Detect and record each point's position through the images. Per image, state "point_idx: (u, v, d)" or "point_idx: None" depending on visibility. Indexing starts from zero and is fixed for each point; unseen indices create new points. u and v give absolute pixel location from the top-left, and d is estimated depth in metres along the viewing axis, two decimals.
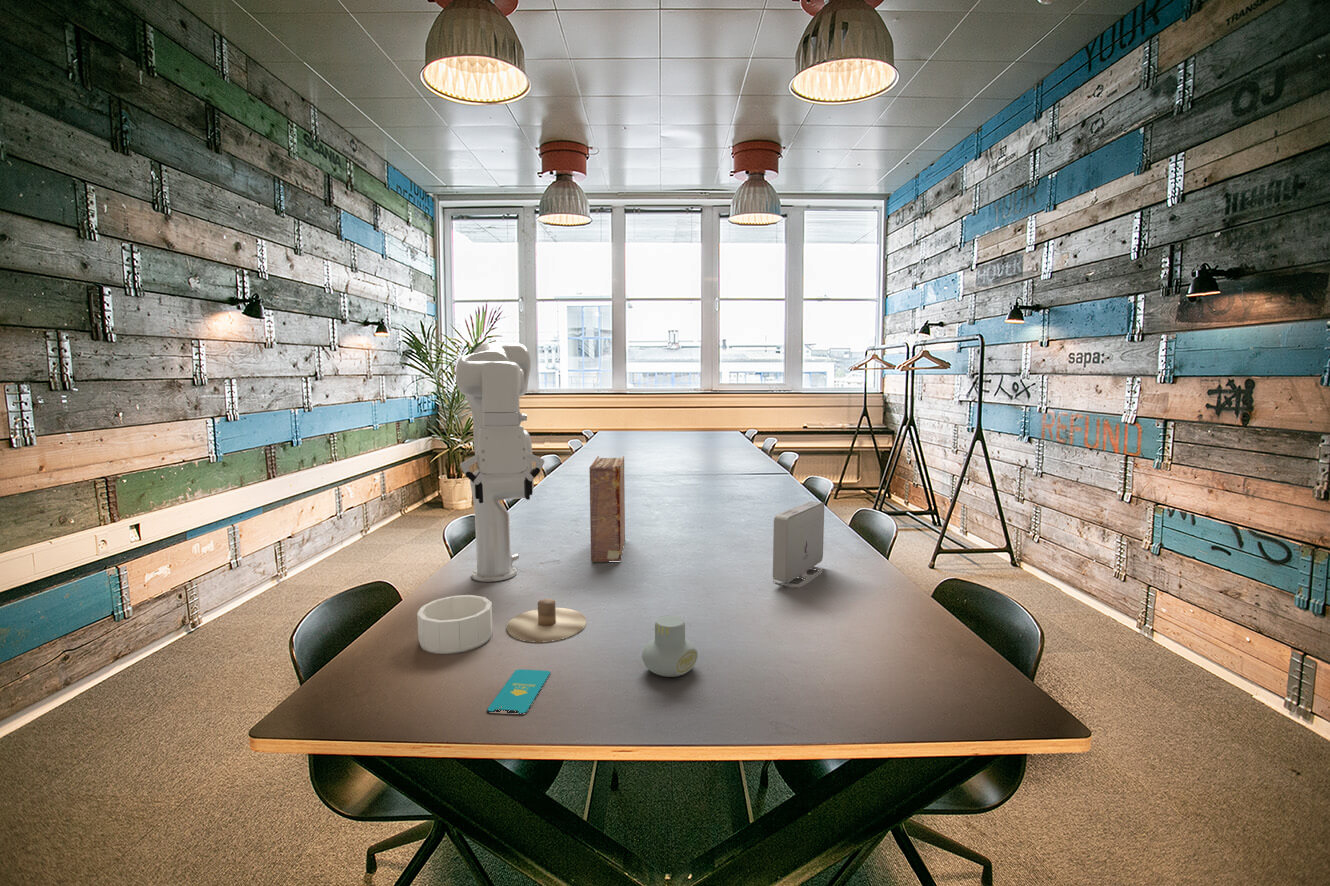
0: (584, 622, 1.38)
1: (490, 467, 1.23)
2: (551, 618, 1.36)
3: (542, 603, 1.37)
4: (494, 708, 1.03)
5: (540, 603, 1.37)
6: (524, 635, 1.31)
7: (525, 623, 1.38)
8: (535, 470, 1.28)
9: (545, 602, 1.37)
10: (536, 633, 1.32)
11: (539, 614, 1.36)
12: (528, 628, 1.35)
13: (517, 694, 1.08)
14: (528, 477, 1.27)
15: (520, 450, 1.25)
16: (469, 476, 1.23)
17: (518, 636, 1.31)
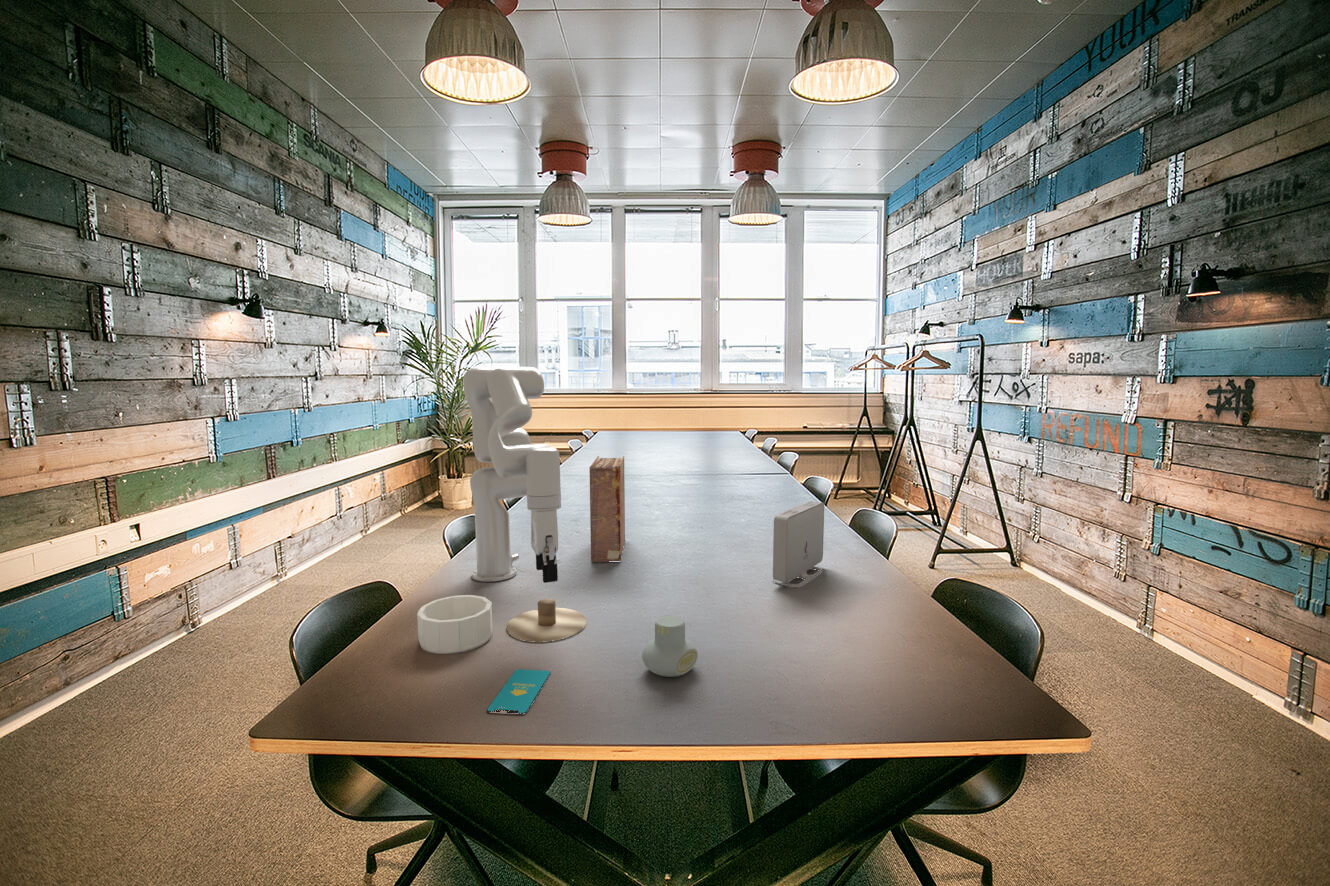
0: (584, 622, 1.38)
1: None
2: (551, 618, 1.36)
3: (542, 603, 1.37)
4: (494, 708, 1.03)
5: (540, 603, 1.37)
6: (524, 635, 1.31)
7: (525, 623, 1.38)
8: None
9: (545, 602, 1.37)
10: (536, 633, 1.32)
11: (539, 614, 1.36)
12: (528, 628, 1.35)
13: (517, 694, 1.08)
14: None
15: None
16: None
17: (518, 636, 1.31)
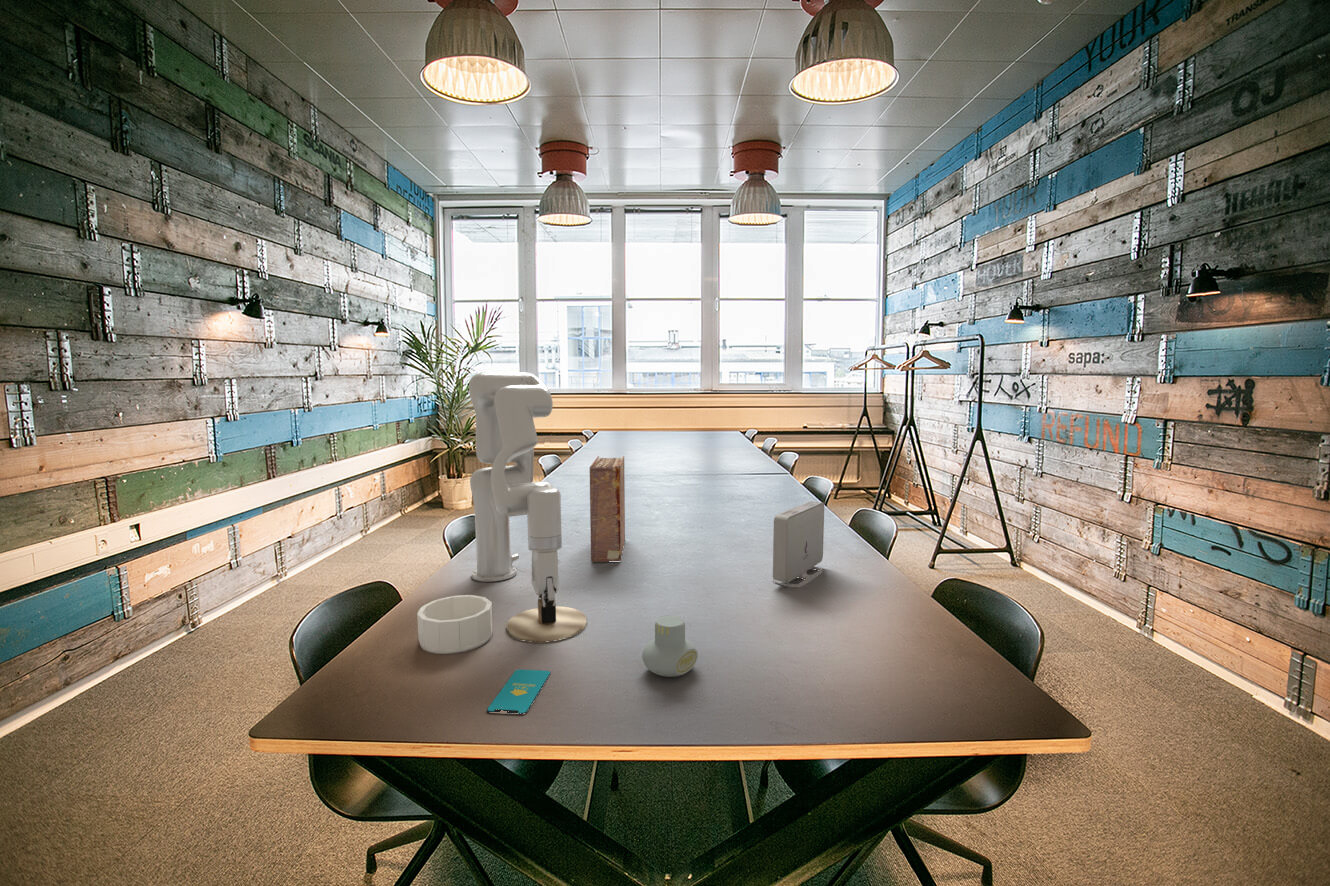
0: (584, 621, 1.38)
1: None
2: None
3: None
4: (494, 708, 1.03)
5: (540, 601, 1.37)
6: (524, 633, 1.31)
7: (525, 621, 1.38)
8: None
9: None
10: (536, 631, 1.32)
11: (539, 613, 1.36)
12: (528, 627, 1.35)
13: (517, 694, 1.08)
14: None
15: None
16: None
17: (518, 634, 1.31)
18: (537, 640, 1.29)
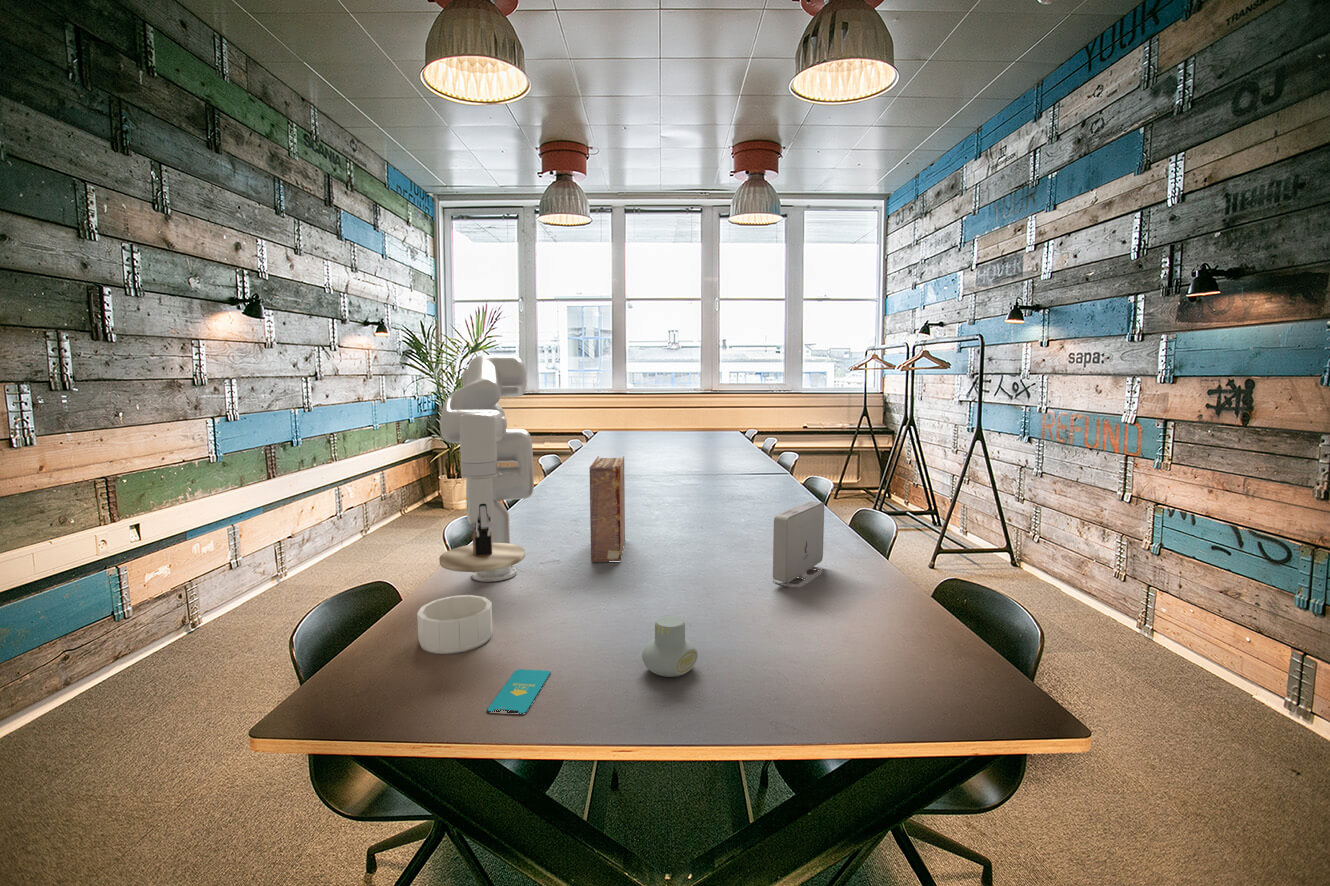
0: (522, 553, 1.32)
1: None
2: None
3: None
4: (494, 708, 1.03)
5: (475, 532, 1.30)
6: (456, 563, 1.25)
7: (459, 554, 1.31)
8: None
9: None
10: (469, 562, 1.25)
11: (474, 545, 1.29)
12: (462, 558, 1.28)
13: (517, 694, 1.08)
14: None
15: None
16: None
17: (449, 564, 1.24)
18: (469, 569, 1.22)
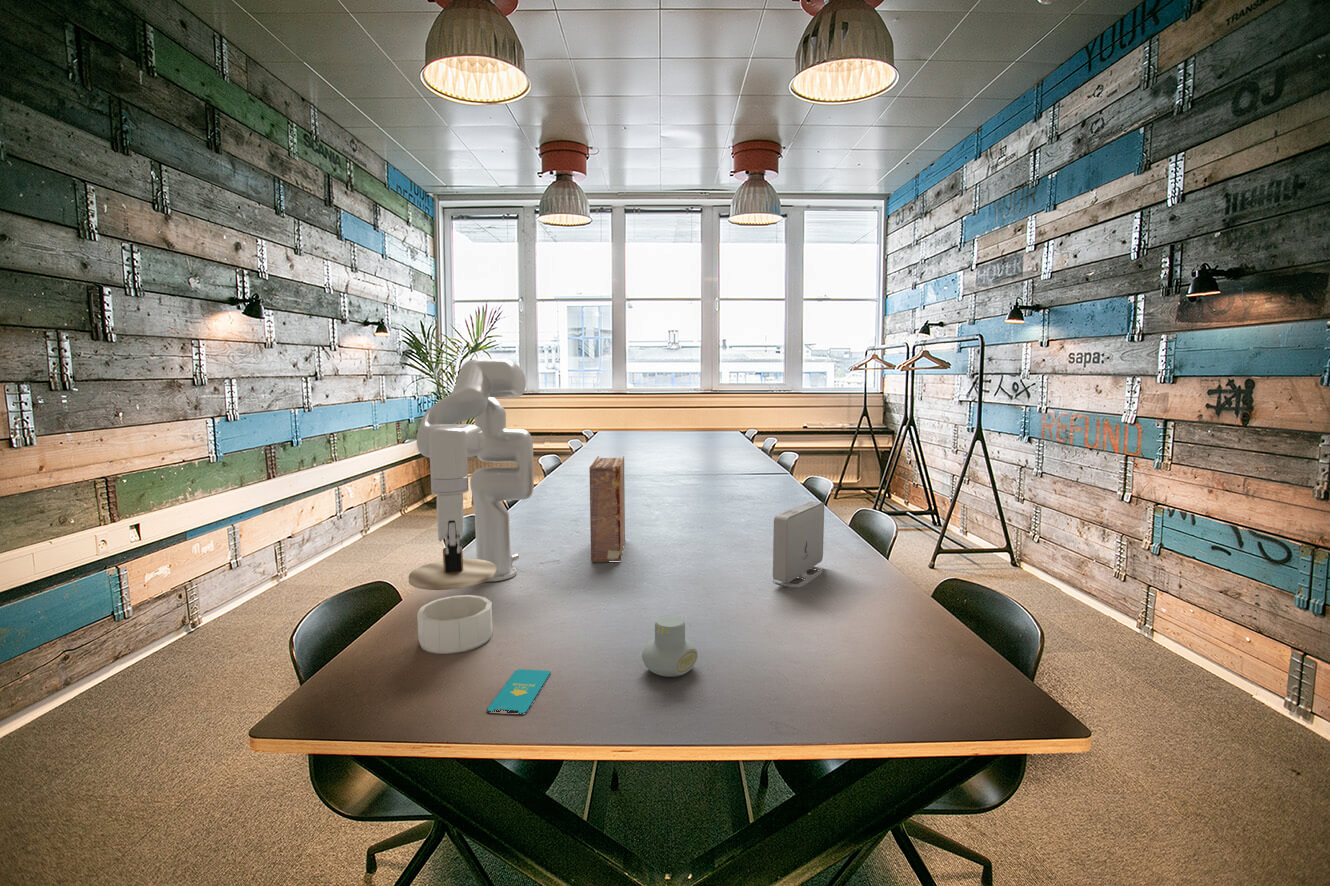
0: (493, 570, 1.29)
1: None
2: None
3: (448, 549, 1.28)
4: (494, 708, 1.03)
5: (445, 549, 1.28)
6: (424, 581, 1.23)
7: (430, 571, 1.29)
8: None
9: None
10: (437, 580, 1.24)
11: (444, 562, 1.28)
12: (431, 575, 1.26)
13: (517, 694, 1.08)
14: None
15: None
16: None
17: (417, 582, 1.22)
18: (436, 587, 1.20)
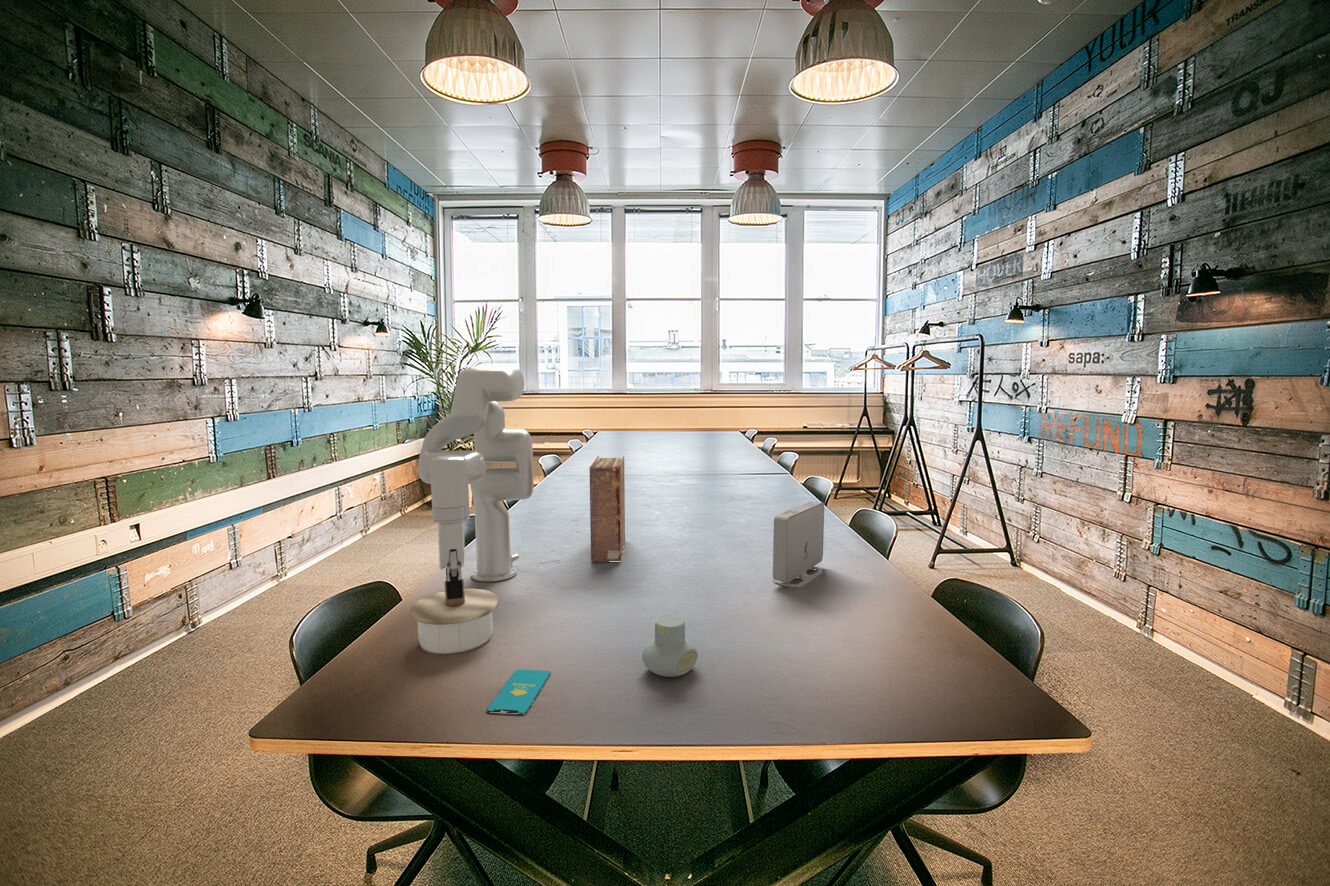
0: (494, 603, 1.30)
1: None
2: (458, 598, 1.29)
3: None
4: (494, 708, 1.03)
5: None
6: (426, 615, 1.24)
7: (432, 603, 1.30)
8: None
9: None
10: (439, 613, 1.25)
11: (446, 594, 1.29)
12: (433, 608, 1.27)
13: (517, 694, 1.08)
14: None
15: None
16: None
17: (419, 616, 1.23)
18: (438, 622, 1.22)
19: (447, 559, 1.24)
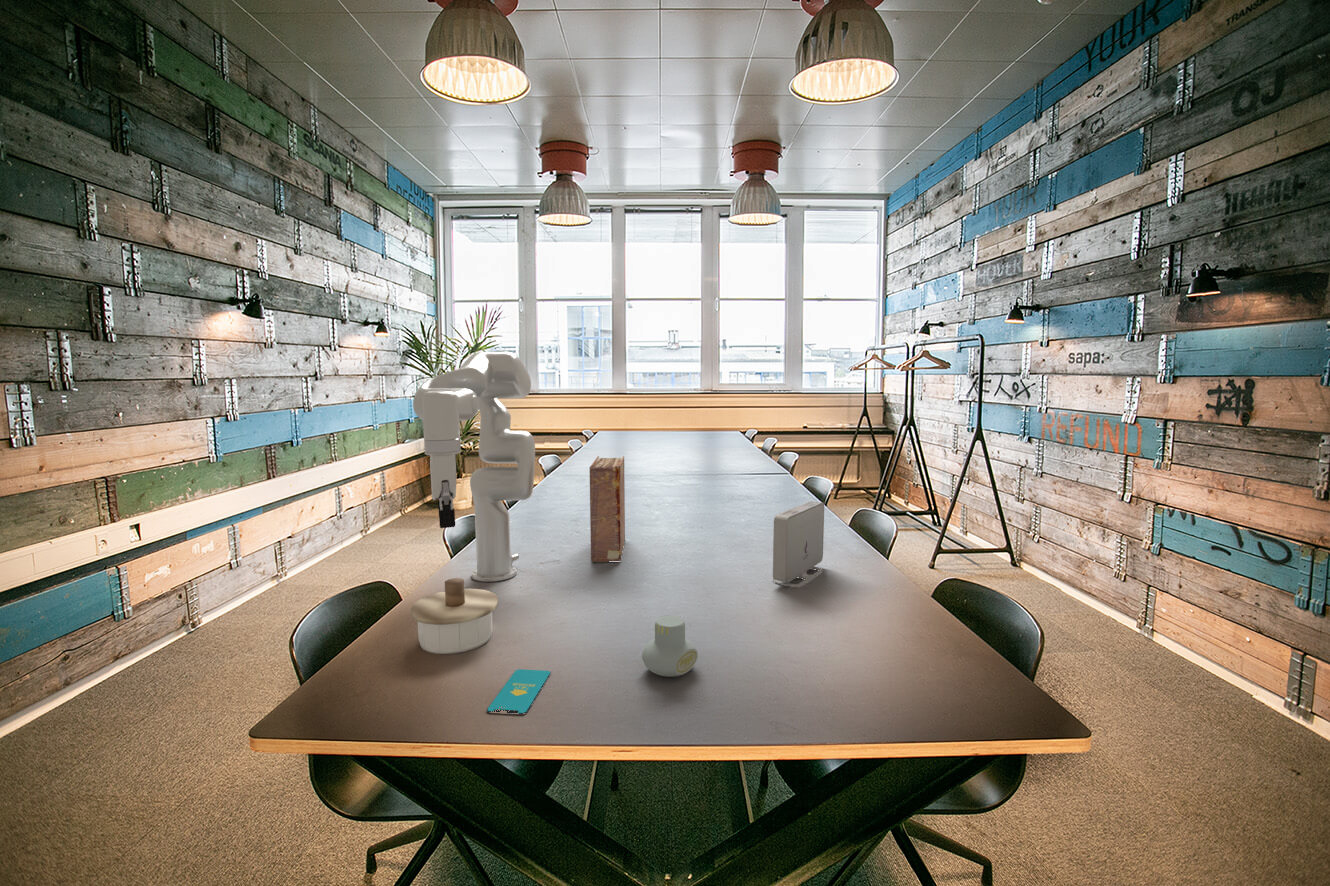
0: (494, 603, 1.30)
1: None
2: (458, 598, 1.29)
3: (449, 582, 1.29)
4: (494, 708, 1.03)
5: (447, 582, 1.29)
6: (426, 615, 1.24)
7: (432, 603, 1.30)
8: None
9: (452, 581, 1.29)
10: (439, 613, 1.25)
11: (446, 594, 1.29)
12: (433, 608, 1.27)
13: (517, 694, 1.08)
14: None
15: None
16: None
17: (419, 616, 1.23)
18: (438, 622, 1.22)
19: (439, 490, 1.28)
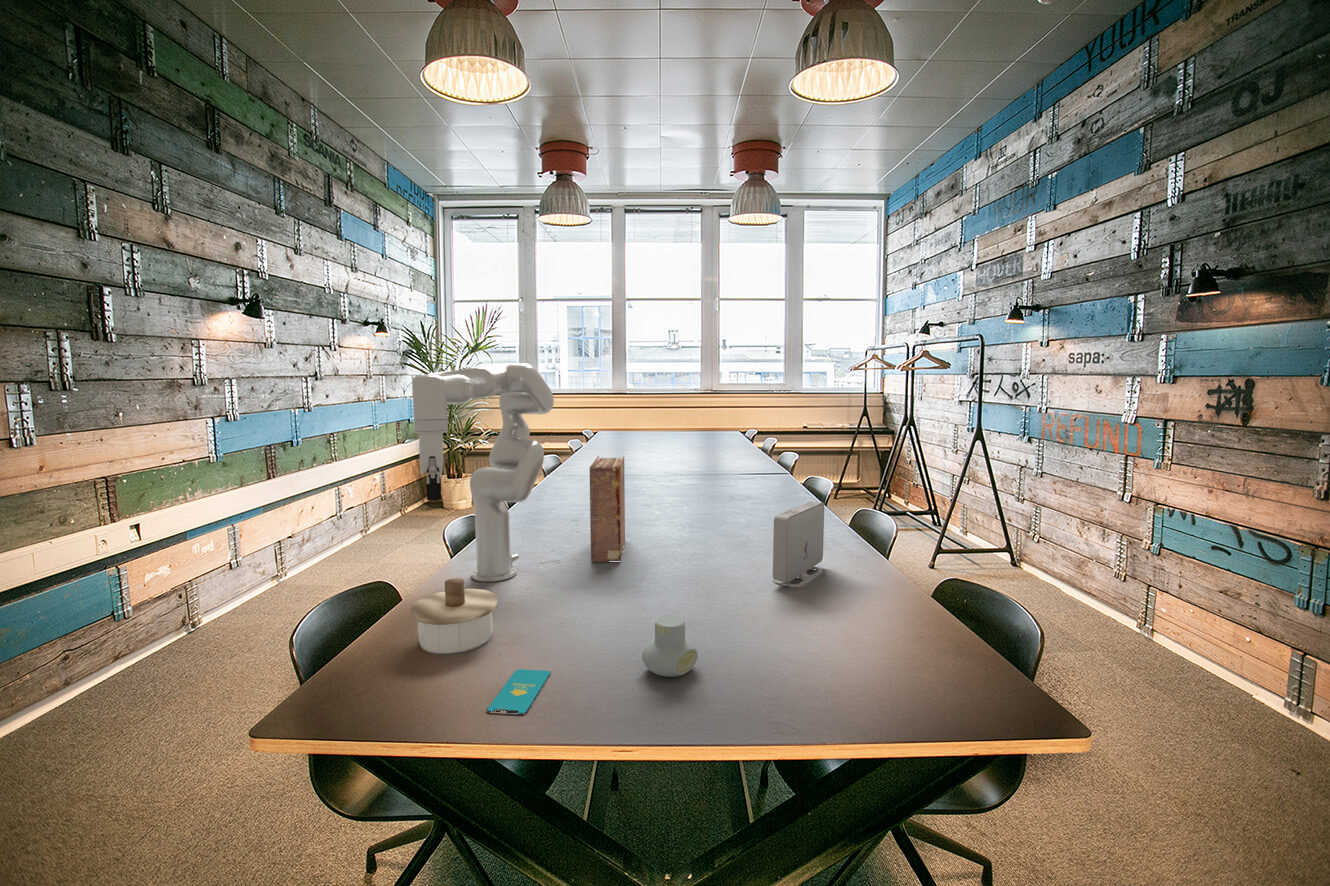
0: (494, 603, 1.30)
1: (442, 466, 1.43)
2: (458, 598, 1.29)
3: (449, 582, 1.29)
4: (494, 708, 1.03)
5: (447, 582, 1.29)
6: (426, 615, 1.24)
7: (432, 603, 1.30)
8: None
9: (452, 581, 1.29)
10: (439, 613, 1.25)
11: (446, 594, 1.29)
12: (433, 608, 1.27)
13: (517, 694, 1.08)
14: None
15: None
16: None
17: (419, 616, 1.23)
18: (438, 622, 1.22)
19: (427, 465, 1.40)
